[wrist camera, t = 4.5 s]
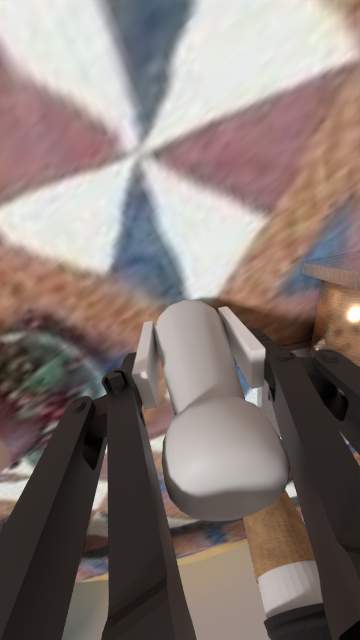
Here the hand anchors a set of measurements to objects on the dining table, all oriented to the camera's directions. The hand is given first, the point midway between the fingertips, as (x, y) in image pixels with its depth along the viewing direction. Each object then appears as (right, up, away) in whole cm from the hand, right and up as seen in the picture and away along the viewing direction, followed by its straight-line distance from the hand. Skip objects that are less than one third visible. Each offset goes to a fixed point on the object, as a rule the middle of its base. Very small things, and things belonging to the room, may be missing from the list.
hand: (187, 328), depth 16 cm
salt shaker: (0, +1, +1) cm, 2 cm away
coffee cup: (+11, -22, +13) cm, 28 cm away
